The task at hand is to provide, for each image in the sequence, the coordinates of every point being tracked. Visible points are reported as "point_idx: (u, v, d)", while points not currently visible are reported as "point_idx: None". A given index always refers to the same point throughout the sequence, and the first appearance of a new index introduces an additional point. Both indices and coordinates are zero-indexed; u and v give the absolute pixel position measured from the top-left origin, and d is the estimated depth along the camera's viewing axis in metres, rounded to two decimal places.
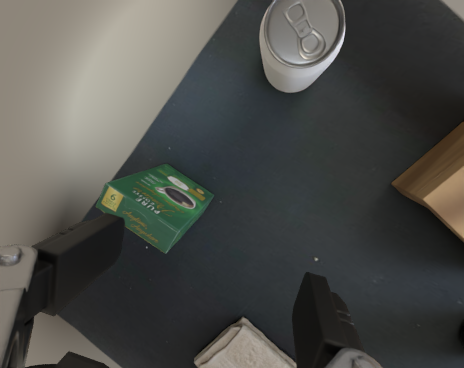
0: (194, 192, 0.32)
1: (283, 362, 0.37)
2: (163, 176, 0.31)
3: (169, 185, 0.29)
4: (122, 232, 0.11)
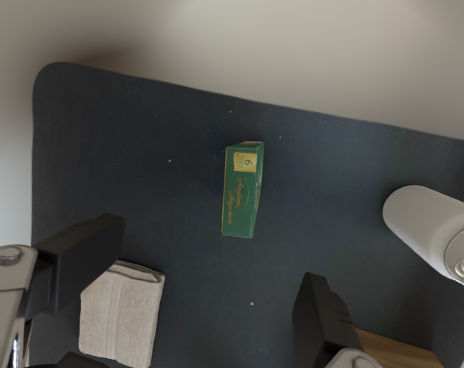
0: None
1: (152, 326, 0.40)
2: (262, 159, 0.29)
3: None
4: (122, 232, 0.11)
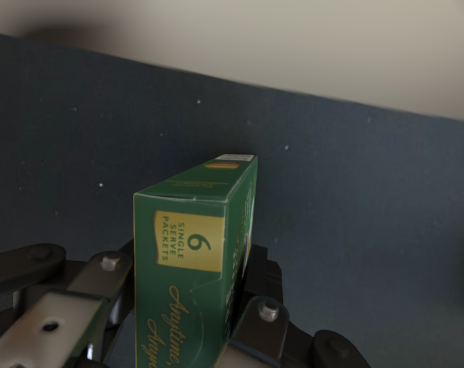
0: (248, 249, 0.17)
1: None
2: (252, 194, 0.15)
3: (249, 226, 0.14)
4: None
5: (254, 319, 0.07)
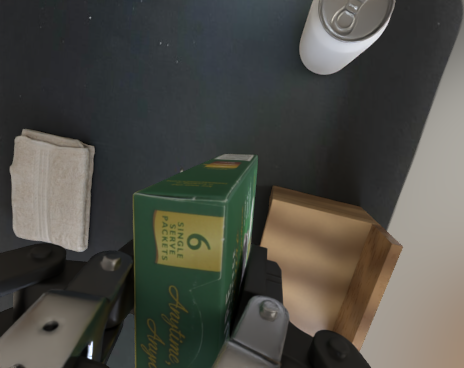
0: (248, 249, 0.17)
1: (83, 199, 0.39)
2: (252, 193, 0.15)
3: (248, 226, 0.14)
4: None
5: (254, 319, 0.07)
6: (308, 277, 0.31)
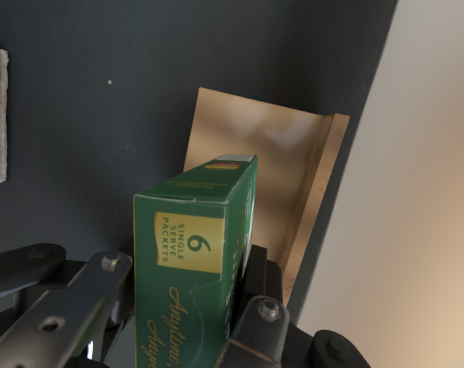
0: None
1: None
2: (252, 194, 0.15)
3: (249, 226, 0.14)
4: None
5: (254, 319, 0.07)
6: None
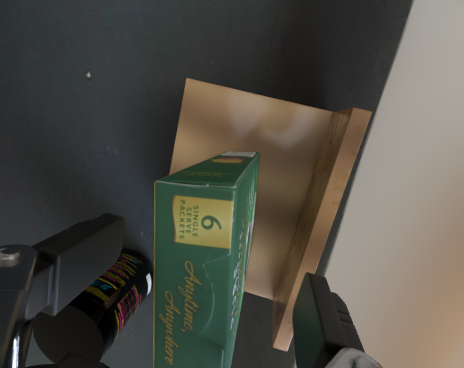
0: None
1: None
2: (255, 187, 0.16)
3: None
4: (122, 232, 0.11)
5: None
6: None
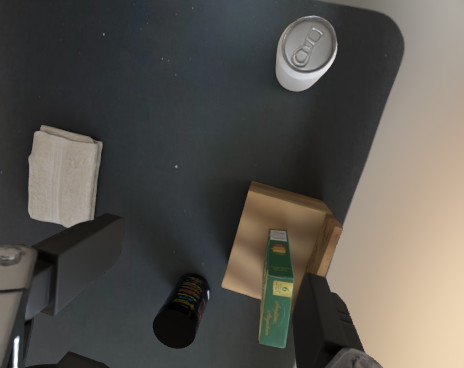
0: None
1: (90, 186, 0.46)
2: None
3: None
4: (122, 232, 0.11)
5: None
6: None
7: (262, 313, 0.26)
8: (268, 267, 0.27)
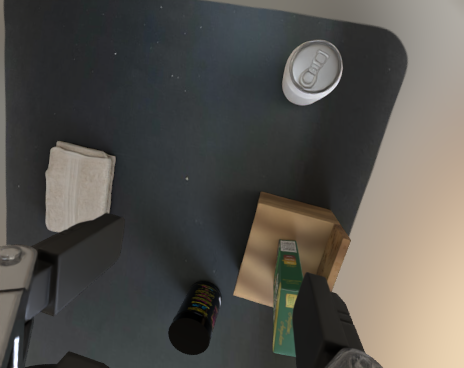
0: None
1: (105, 199, 0.48)
2: None
3: None
4: (122, 232, 0.11)
5: None
6: None
7: (276, 324, 0.28)
8: (280, 280, 0.28)
